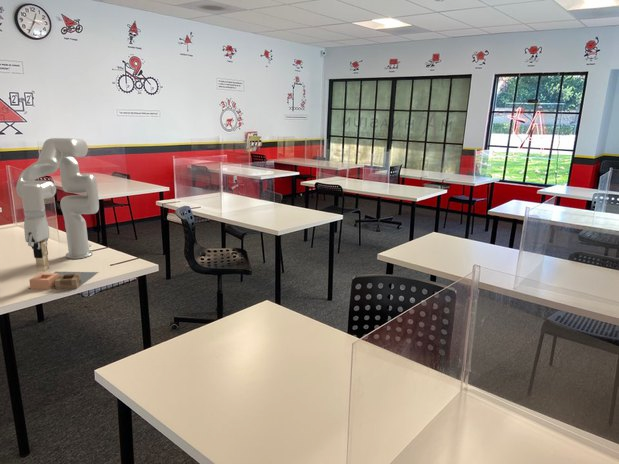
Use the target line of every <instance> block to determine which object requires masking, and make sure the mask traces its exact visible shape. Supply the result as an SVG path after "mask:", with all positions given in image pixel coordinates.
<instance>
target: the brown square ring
mask: <svg viewBox="0 0 619 464" xmlns="http://www.w3.org/2000/svg"><path fill="white" fill-rule="evenodd" d="M80 283H81V276H80V273H74V274H60V275H59V276H58V278H57V279H56V280H55V286H56V289H55V291H59V290H60V291H62V290H70V289H76V288H77V289H79V288H78V286H79V284H80ZM77 289H76V290H77Z"/></svg>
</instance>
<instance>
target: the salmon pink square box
mask: <svg viewBox="0 0 619 464" xmlns="http://www.w3.org/2000/svg"><path fill="white" fill-rule="evenodd" d="M58 276H59V273H54V272H52V273H49V272H48V273H47V272H40V273H38V274H37V275H34V276H32V277H31V278H30V279H28V280H29V281H28V282H29V288H31V289H30V290H52V289H51V288H52V287H54V286H55V280H56V279H57V278H58Z"/></svg>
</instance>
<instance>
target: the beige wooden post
mask: <svg viewBox="0 0 619 464" xmlns="http://www.w3.org/2000/svg"><path fill="white" fill-rule="evenodd" d="M34 241H35V240H34ZM35 244H36V245H37V243H35ZM40 249H42V256H43V257H42V258H35V263H36V269H37V272H46V271H48V270H49V269H50V264H49V258H48V257H49V256H48V255H49V254H48V255H47V250H48V247H47V248H46V240H45V239H44V240H42V241H40Z"/></svg>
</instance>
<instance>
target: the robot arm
mask: <svg viewBox="0 0 619 464" xmlns="http://www.w3.org/2000/svg"><path fill="white" fill-rule="evenodd" d="M88 153H89V147H88V145H87V142H86V141H85V140H84V139H80V138H70V137H67V138H66V137H65V138H63V137H54V138H53V137H52V138H48V139H46V140H45V141H44V143H43V145H42V148H41V150H40V153H39V157H38V159H37V161H35V162H33V163H32V164H31V165H29V166H27V167H26V168H24V170H23V171H21V173H20V174H19V177H18V179H17V182H16V187H15V189H16V194H17V196H18V197H19V198H21V201H22V206H23V207H22V209H23V214H24V219H23V220H24V221H23V222H24V223H23V224H24V225H23V228H24V241H25V242H26V243H27V246H29V247H31V249H32V251H33V258H34V259H36V258H42V257H43V256H42V249H40V241H42V240H44V239H45V240H46V248H47V255H49V252H48V240H49V238H50V227H49V222H48V219H47V213H46V205H45V200H46V199H51V198H53V197H54V196H55V195H56V193H57V186H56V185H55V183H54V182H52V181H50V180H38V179H40V178H42V177H46V176H49V175H52V174H54V173H56V172H57V171H58V170H59V175H60V181H61V182H60V183H61V188H62V190H63V192H65V193H69V194H71V193H72V194H76V193H77V194H76V195H66V196H63V197H62V198H61V200H60V203H59V205H60V206H59V207H60V209H61V212H62V215H63V220H64V227H65V235H66V241H67V242H66V243H67V250H68V252H67V253H65V258H67V259H69V260H73V259H74V260H76V259H77V260H78V259H79V260H80V259H84V258H89V257H91V256H93V251H92V250H90V248H91V247H92V243H89V239H88V238H89V237H88V229H87V222H86V220H85V218H84V217H83V216H82V215H94V214H97V213H98V211H99V210H100V201H99V189H98V183H97V178H96V176H95V175H93V174H91V173H81V172H80V166H79V162H78V161H77V160H76V158H84V157H86V156H87V154H88ZM81 193H82V195H81ZM79 194H80V195H79ZM84 194H85V195H84ZM34 240H35V241H34ZM35 243H37V245H36V244H35Z"/></svg>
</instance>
